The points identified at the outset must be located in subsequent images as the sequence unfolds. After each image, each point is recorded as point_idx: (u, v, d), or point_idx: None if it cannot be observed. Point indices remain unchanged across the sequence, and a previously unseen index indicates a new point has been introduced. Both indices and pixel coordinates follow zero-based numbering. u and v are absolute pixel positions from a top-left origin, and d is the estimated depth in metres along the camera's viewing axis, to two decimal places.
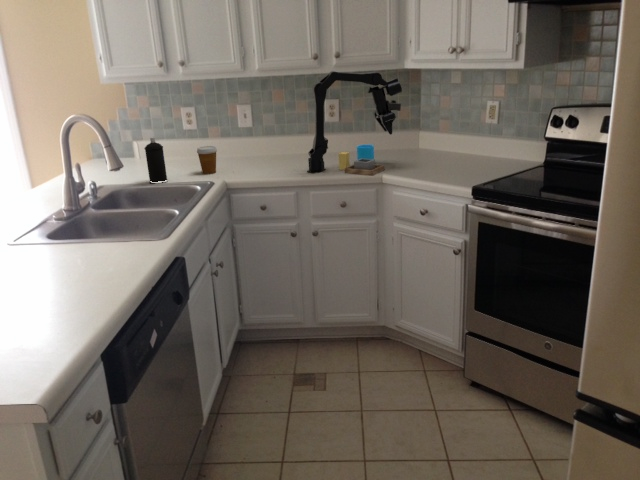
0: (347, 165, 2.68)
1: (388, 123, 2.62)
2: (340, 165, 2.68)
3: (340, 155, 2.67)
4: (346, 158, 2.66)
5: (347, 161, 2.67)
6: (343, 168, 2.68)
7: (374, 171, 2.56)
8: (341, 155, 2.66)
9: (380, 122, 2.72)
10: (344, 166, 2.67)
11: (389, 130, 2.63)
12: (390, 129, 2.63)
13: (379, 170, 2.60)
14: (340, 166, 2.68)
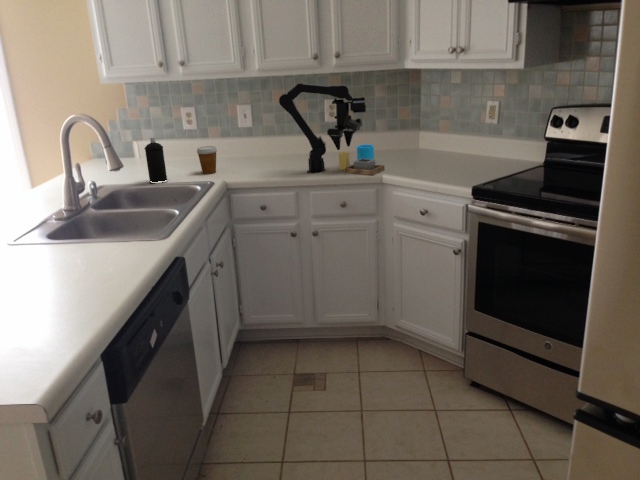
0: (347, 165, 2.68)
1: (336, 138, 2.60)
2: (340, 165, 2.68)
3: (340, 155, 2.67)
4: (346, 158, 2.66)
5: (347, 161, 2.67)
6: (343, 168, 2.68)
7: (374, 171, 2.56)
8: (341, 155, 2.66)
9: (345, 135, 2.69)
10: (344, 166, 2.67)
11: (336, 145, 2.62)
12: (337, 145, 2.61)
13: (379, 170, 2.60)
14: (340, 166, 2.68)
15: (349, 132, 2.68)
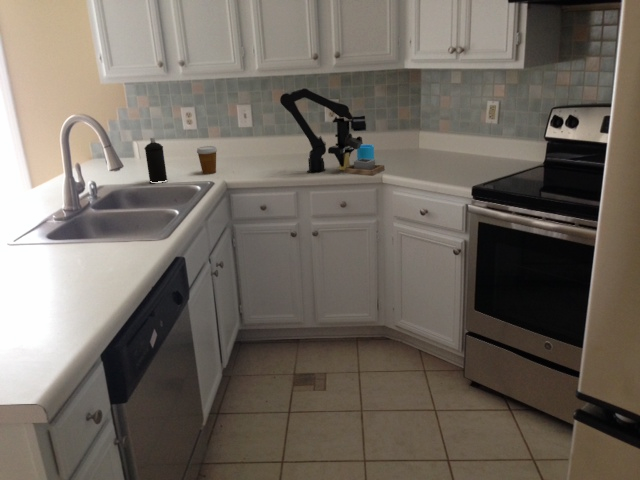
0: (347, 165, 2.68)
1: (340, 155, 2.65)
2: (340, 165, 2.68)
3: None
4: (346, 158, 2.66)
5: (347, 161, 2.67)
6: (343, 168, 2.68)
7: (374, 171, 2.56)
8: None
9: None
10: (344, 166, 2.67)
11: (340, 162, 2.67)
12: (341, 161, 2.66)
13: (379, 170, 2.60)
14: (340, 166, 2.68)
15: (347, 151, 2.69)
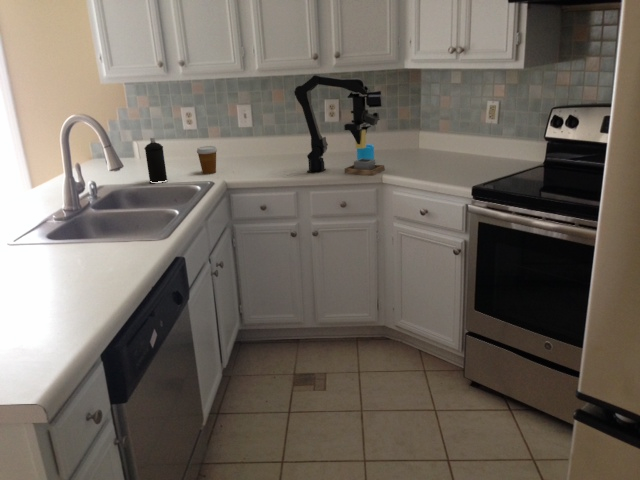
0: (364, 142, 2.59)
1: (356, 132, 2.56)
2: (356, 143, 2.59)
3: None
4: (362, 135, 2.58)
5: (363, 138, 2.59)
6: (360, 146, 2.59)
7: (374, 171, 2.56)
8: None
9: None
10: (361, 143, 2.58)
11: (356, 139, 2.58)
12: (357, 139, 2.57)
13: (379, 170, 2.60)
14: (356, 144, 2.60)
15: (363, 128, 2.60)
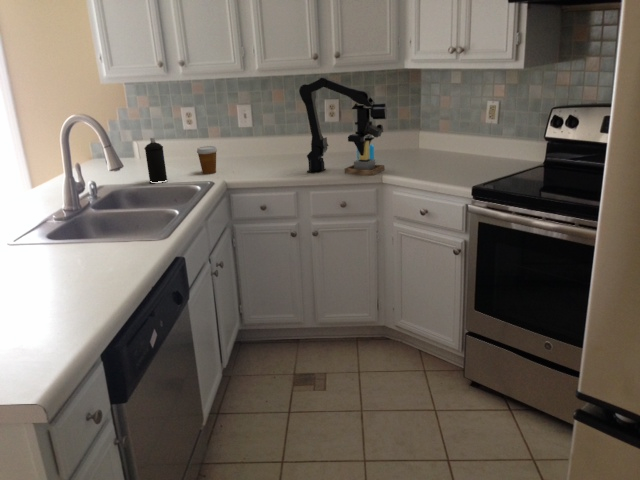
0: (367, 154, 2.60)
1: (360, 143, 2.57)
2: None
3: None
4: (366, 146, 2.58)
5: (367, 150, 2.59)
6: (363, 157, 2.59)
7: (374, 171, 2.56)
8: None
9: None
10: (364, 155, 2.59)
11: (360, 151, 2.58)
12: (361, 150, 2.58)
13: (379, 170, 2.60)
14: (360, 155, 2.60)
15: (367, 139, 2.60)
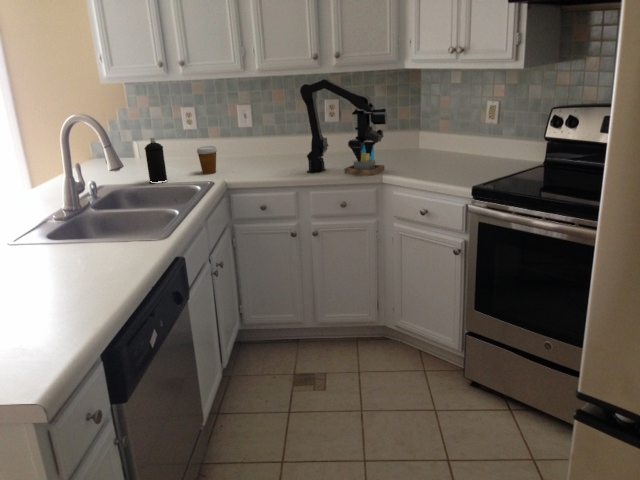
0: None
1: (357, 150, 2.55)
2: None
3: None
4: (366, 159, 2.60)
5: None
6: None
7: (374, 171, 2.56)
8: (361, 156, 2.60)
9: (366, 147, 2.65)
10: None
11: (357, 157, 2.57)
12: (358, 156, 2.56)
13: (379, 170, 2.60)
14: None
15: (370, 143, 2.63)
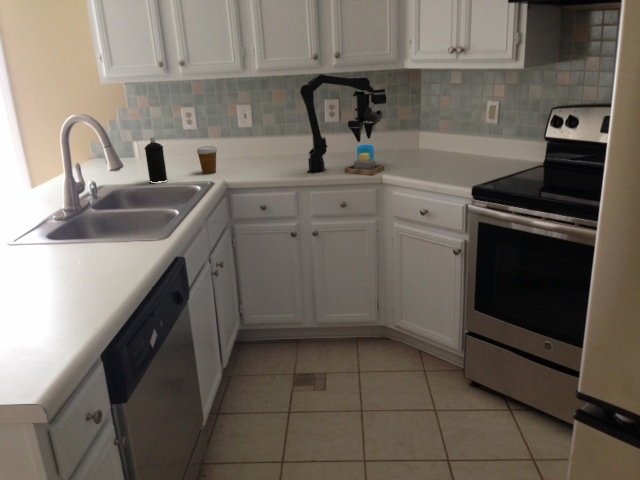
0: None
1: (356, 130, 2.61)
2: None
3: (360, 156, 2.60)
4: (366, 159, 2.60)
5: None
6: None
7: (374, 171, 2.56)
8: (361, 156, 2.60)
9: (366, 128, 2.70)
10: None
11: (357, 137, 2.63)
12: (357, 137, 2.62)
13: (379, 170, 2.60)
14: None
15: (369, 124, 2.69)
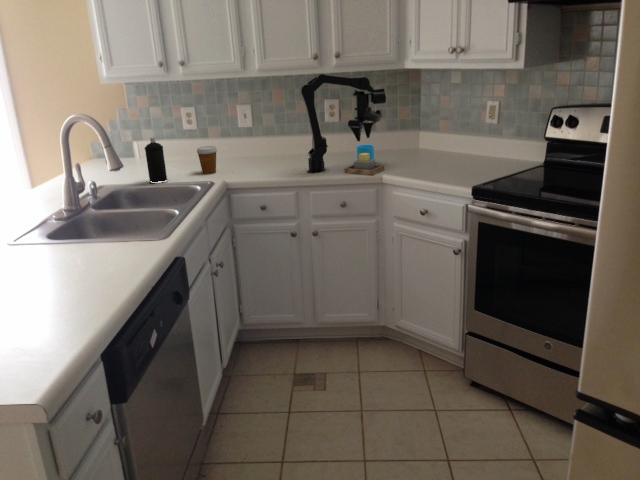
0: None
1: (356, 130, 2.63)
2: None
3: (360, 156, 2.60)
4: (366, 159, 2.60)
5: None
6: None
7: (374, 171, 2.56)
8: (361, 156, 2.60)
9: (365, 127, 2.72)
10: None
11: (357, 137, 2.64)
12: (357, 136, 2.64)
13: (379, 170, 2.60)
14: None
15: (369, 124, 2.70)
